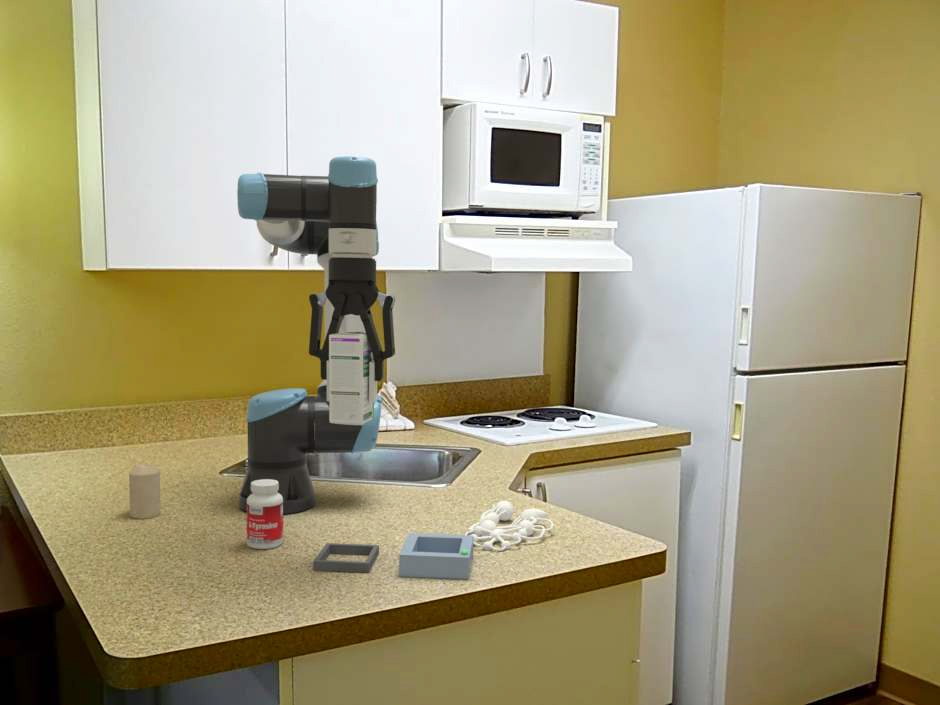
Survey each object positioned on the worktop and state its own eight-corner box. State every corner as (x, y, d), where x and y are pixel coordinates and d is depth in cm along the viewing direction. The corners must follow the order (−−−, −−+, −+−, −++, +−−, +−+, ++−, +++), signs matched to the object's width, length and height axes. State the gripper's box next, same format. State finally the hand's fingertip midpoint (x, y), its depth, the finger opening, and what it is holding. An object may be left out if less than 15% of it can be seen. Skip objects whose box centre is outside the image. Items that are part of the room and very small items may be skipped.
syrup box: (362, 425, 133) (364, 334, 131) (327, 423, 134) (328, 332, 133) (374, 419, 138) (375, 331, 137) (340, 417, 140) (341, 330, 138)
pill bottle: (243, 550, 143) (243, 486, 142) (250, 538, 149) (249, 477, 148) (280, 550, 144) (280, 486, 143) (285, 538, 150) (285, 477, 149)
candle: (166, 512, 164) (165, 462, 163) (147, 520, 159) (146, 468, 158) (143, 509, 166) (142, 459, 165) (123, 517, 161) (122, 465, 160)
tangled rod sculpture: (518, 566, 142) (520, 543, 141) (445, 545, 149) (446, 522, 148) (562, 532, 159) (564, 511, 158) (494, 514, 166) (496, 494, 165)
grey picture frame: (313, 570, 134) (313, 561, 134) (326, 551, 143) (326, 543, 143) (368, 572, 134) (369, 563, 134) (378, 553, 143) (378, 545, 143)
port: (399, 576, 133) (399, 551, 132) (408, 552, 144) (409, 530, 143) (468, 579, 132) (469, 554, 131) (473, 555, 143) (473, 532, 142)
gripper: (286, 255, 131) (287, 402, 133) (408, 257, 129) (407, 406, 131) (300, 256, 138) (300, 395, 140) (415, 258, 137) (414, 398, 139)
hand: (351, 400), depth 136 cm, fingers closed on syrup box, 6 cm apart
